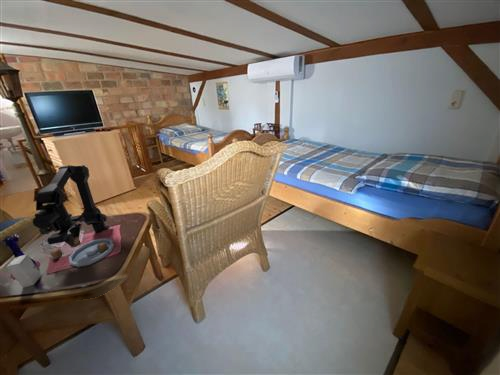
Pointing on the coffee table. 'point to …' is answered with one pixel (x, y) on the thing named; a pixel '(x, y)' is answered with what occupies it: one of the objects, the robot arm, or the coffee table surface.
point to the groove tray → (89, 252)
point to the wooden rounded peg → (102, 247)
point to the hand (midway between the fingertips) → (75, 243)
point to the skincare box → (24, 270)
